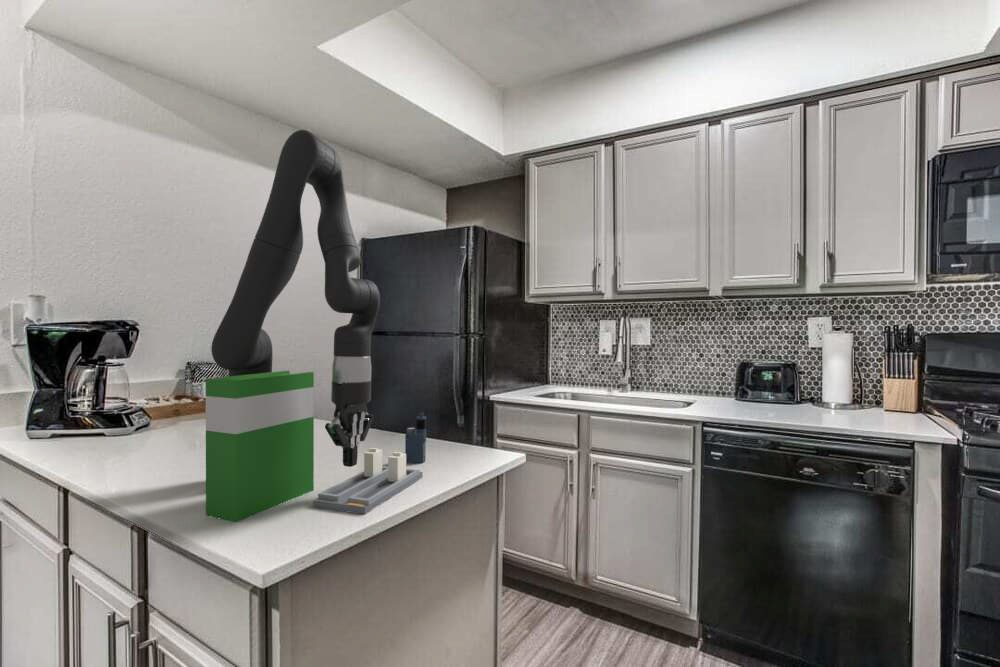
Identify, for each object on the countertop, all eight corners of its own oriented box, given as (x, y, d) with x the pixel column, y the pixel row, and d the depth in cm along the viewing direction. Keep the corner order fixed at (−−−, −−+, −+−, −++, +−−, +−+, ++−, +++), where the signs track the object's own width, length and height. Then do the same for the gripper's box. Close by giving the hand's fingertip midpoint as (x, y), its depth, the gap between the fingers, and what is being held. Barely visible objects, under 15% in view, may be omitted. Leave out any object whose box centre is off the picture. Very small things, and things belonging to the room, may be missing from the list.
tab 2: (388, 481, 99) (388, 454, 99) (396, 476, 103) (396, 449, 103) (397, 482, 99) (397, 455, 99) (406, 477, 102) (406, 450, 102)
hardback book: (286, 485, 101) (286, 370, 101) (313, 490, 98) (313, 372, 98) (205, 515, 85) (205, 378, 84) (235, 522, 82) (235, 380, 82)
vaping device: (424, 463, 118) (424, 414, 118) (403, 462, 119) (403, 413, 119) (427, 460, 120) (427, 412, 120) (407, 459, 121) (407, 411, 121)
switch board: (313, 506, 89) (313, 495, 89) (378, 472, 110) (378, 464, 110) (365, 514, 86) (365, 502, 86) (422, 477, 107) (422, 468, 107)
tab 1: (364, 476, 103) (364, 450, 102) (373, 471, 106) (373, 446, 106) (373, 477, 102) (373, 450, 102) (382, 472, 105) (382, 447, 105)
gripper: (356, 374, 104) (354, 455, 104) (313, 380, 91) (311, 472, 91) (386, 376, 101) (384, 459, 101) (346, 383, 89) (344, 477, 89)
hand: (349, 465), depth 96 cm, fingers closed
